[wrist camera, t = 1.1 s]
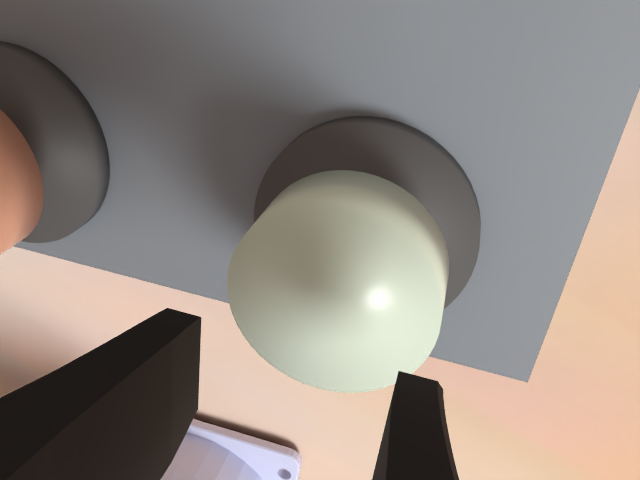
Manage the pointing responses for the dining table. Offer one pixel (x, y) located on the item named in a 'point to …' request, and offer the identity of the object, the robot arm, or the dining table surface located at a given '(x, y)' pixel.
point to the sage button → (341, 282)
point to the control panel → (327, 134)
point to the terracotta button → (17, 186)
